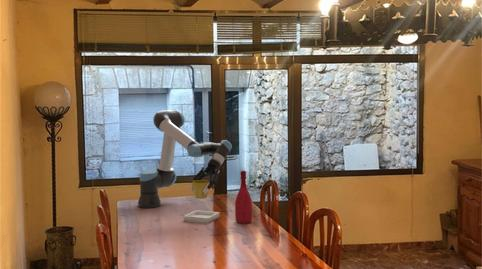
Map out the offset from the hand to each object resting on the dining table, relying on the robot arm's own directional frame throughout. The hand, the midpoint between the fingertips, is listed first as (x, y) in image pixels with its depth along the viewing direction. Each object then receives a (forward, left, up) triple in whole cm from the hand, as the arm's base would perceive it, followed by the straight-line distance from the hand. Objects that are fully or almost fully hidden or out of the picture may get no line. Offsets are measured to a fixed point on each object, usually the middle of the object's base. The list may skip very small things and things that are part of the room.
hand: (197, 191), depth 304 cm
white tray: (+1, +3, -17) cm, 17 cm away
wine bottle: (+27, +5, -17) cm, 32 cm away
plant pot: (+1, +3, -4) cm, 5 cm away
